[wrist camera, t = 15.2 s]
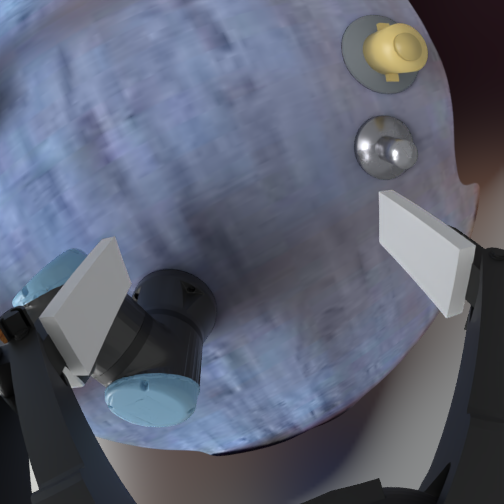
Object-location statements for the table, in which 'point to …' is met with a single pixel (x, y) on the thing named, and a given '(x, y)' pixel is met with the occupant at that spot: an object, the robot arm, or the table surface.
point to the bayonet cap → (395, 50)
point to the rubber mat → (357, 62)
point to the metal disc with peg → (385, 147)
